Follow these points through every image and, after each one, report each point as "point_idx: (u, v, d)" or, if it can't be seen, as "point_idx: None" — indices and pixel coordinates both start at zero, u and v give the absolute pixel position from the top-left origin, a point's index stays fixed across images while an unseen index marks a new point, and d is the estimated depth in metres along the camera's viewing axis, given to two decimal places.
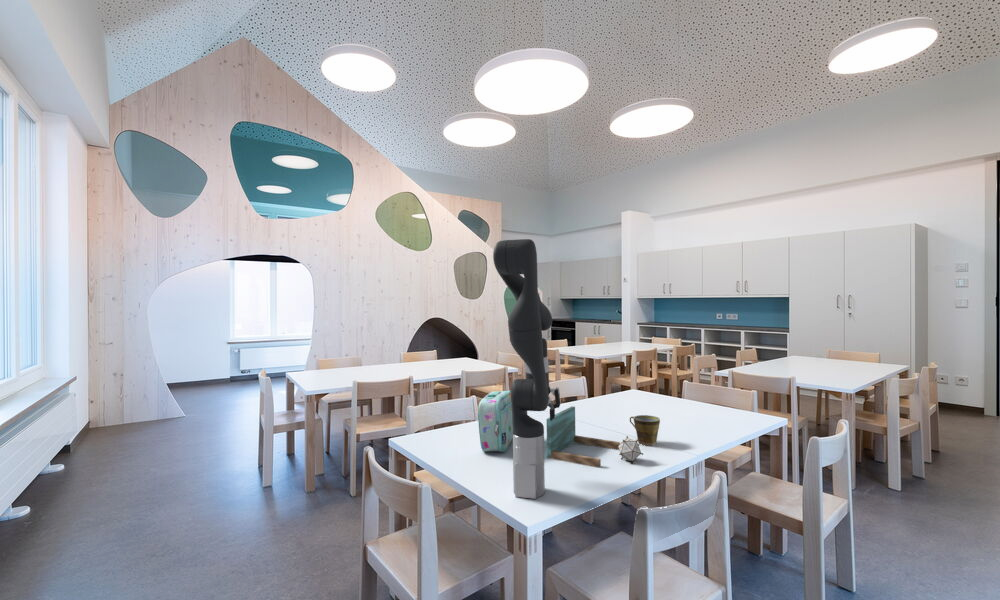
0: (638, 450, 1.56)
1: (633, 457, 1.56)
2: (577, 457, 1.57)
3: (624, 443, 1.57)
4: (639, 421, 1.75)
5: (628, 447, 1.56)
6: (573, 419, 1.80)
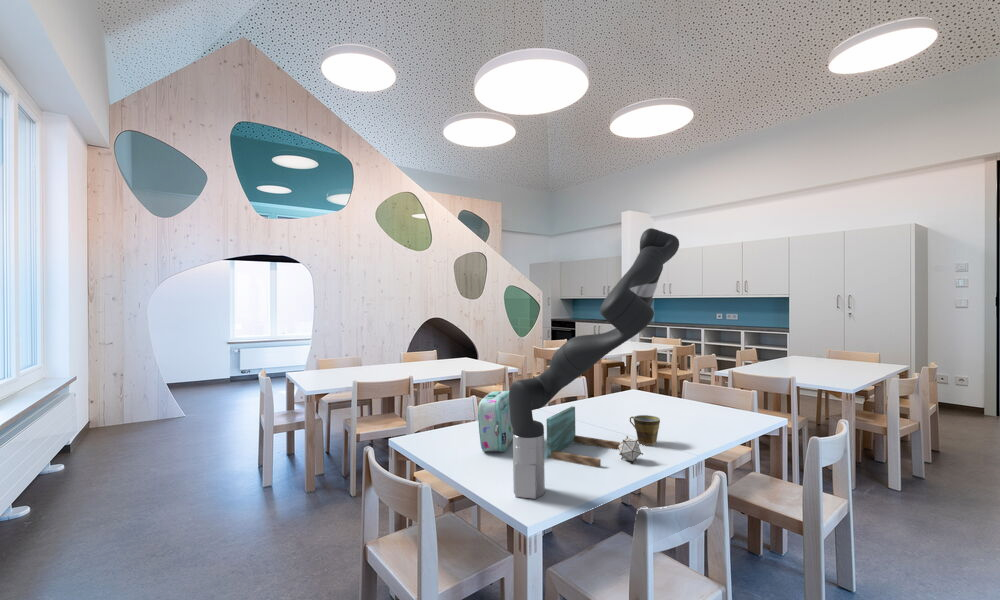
0: (638, 450, 1.56)
1: (633, 457, 1.56)
2: (577, 457, 1.57)
3: (624, 443, 1.57)
4: (639, 421, 1.75)
5: (628, 447, 1.56)
6: (573, 419, 1.80)
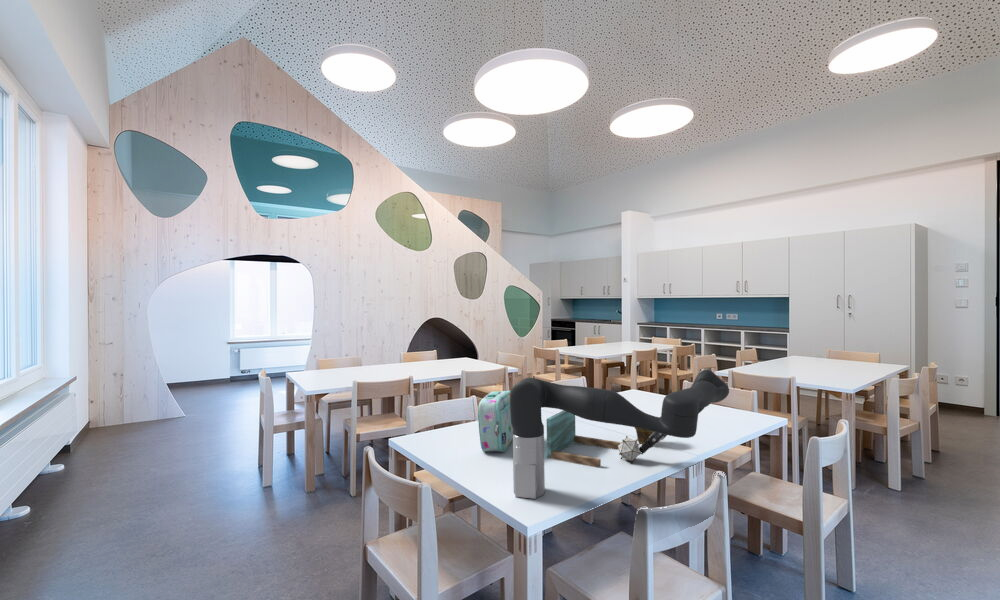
0: (638, 450, 1.56)
1: (633, 457, 1.56)
2: (577, 457, 1.57)
3: (624, 443, 1.57)
4: None
5: (627, 447, 1.56)
6: (573, 419, 1.80)
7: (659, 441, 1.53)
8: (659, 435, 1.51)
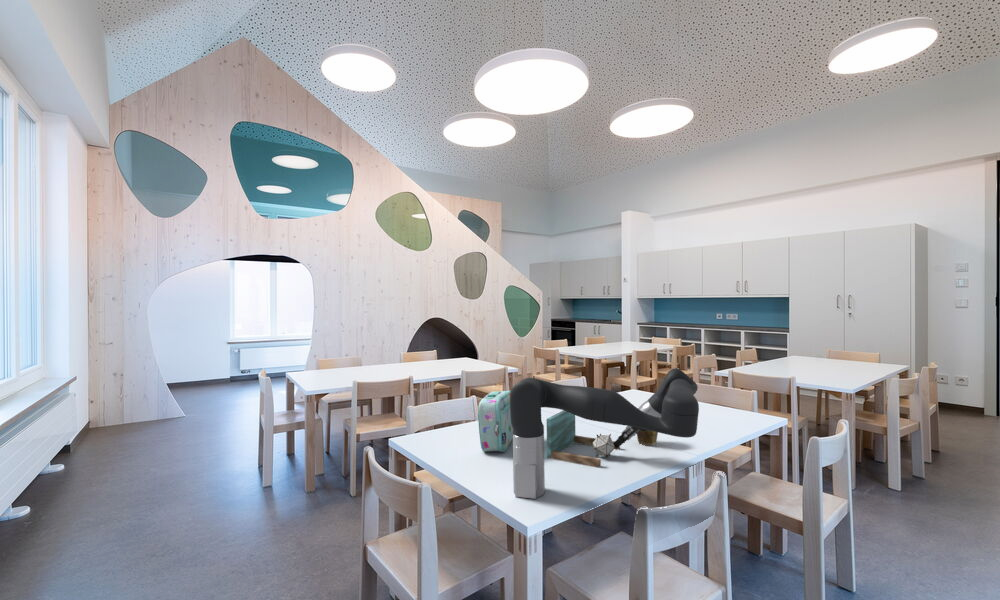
0: (612, 444, 1.61)
1: (607, 451, 1.60)
2: (577, 457, 1.57)
3: (598, 438, 1.62)
4: None
5: (602, 441, 1.60)
6: (573, 419, 1.80)
7: (631, 437, 1.58)
8: (630, 431, 1.56)
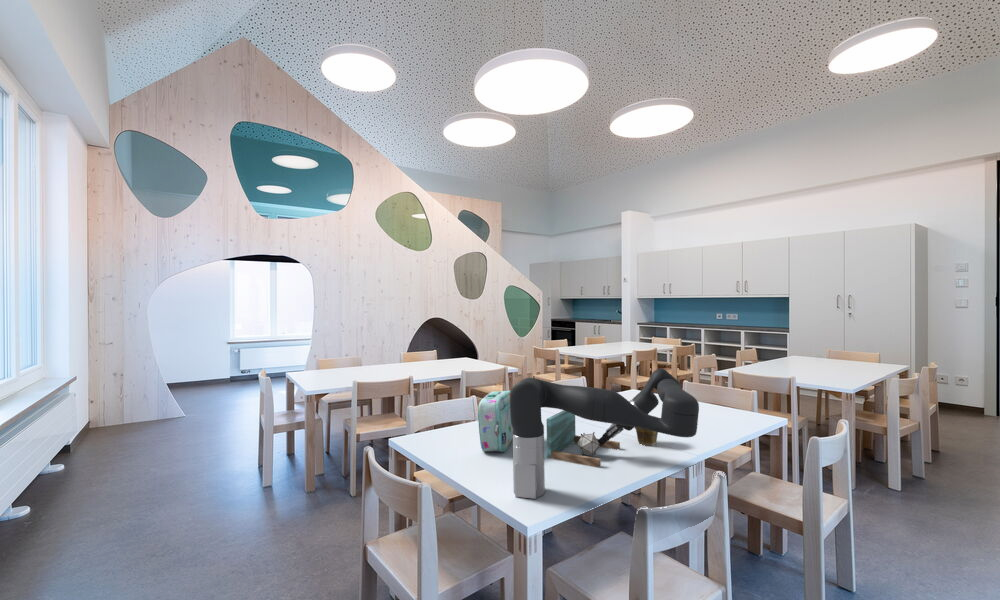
0: (597, 442, 1.62)
1: (593, 449, 1.61)
2: (577, 457, 1.57)
3: (582, 437, 1.63)
4: None
5: (587, 440, 1.62)
6: (573, 419, 1.80)
7: (615, 435, 1.60)
8: (615, 429, 1.57)
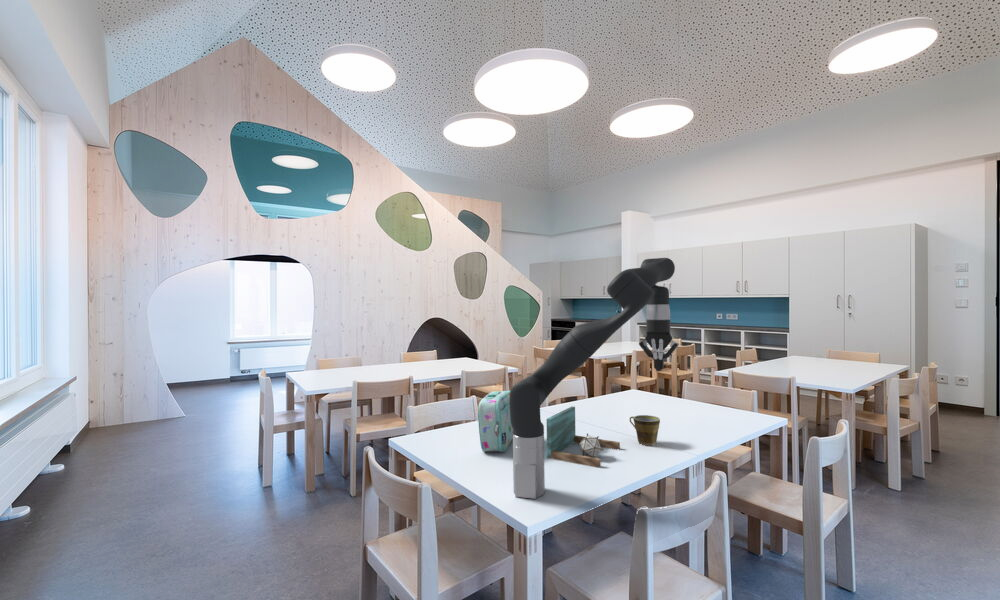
0: (599, 447, 1.61)
1: (594, 453, 1.60)
2: (577, 457, 1.57)
3: (586, 440, 1.61)
4: (639, 421, 1.75)
5: (590, 444, 1.60)
6: (573, 419, 1.80)
7: (652, 346, 1.49)
8: (645, 338, 1.52)
